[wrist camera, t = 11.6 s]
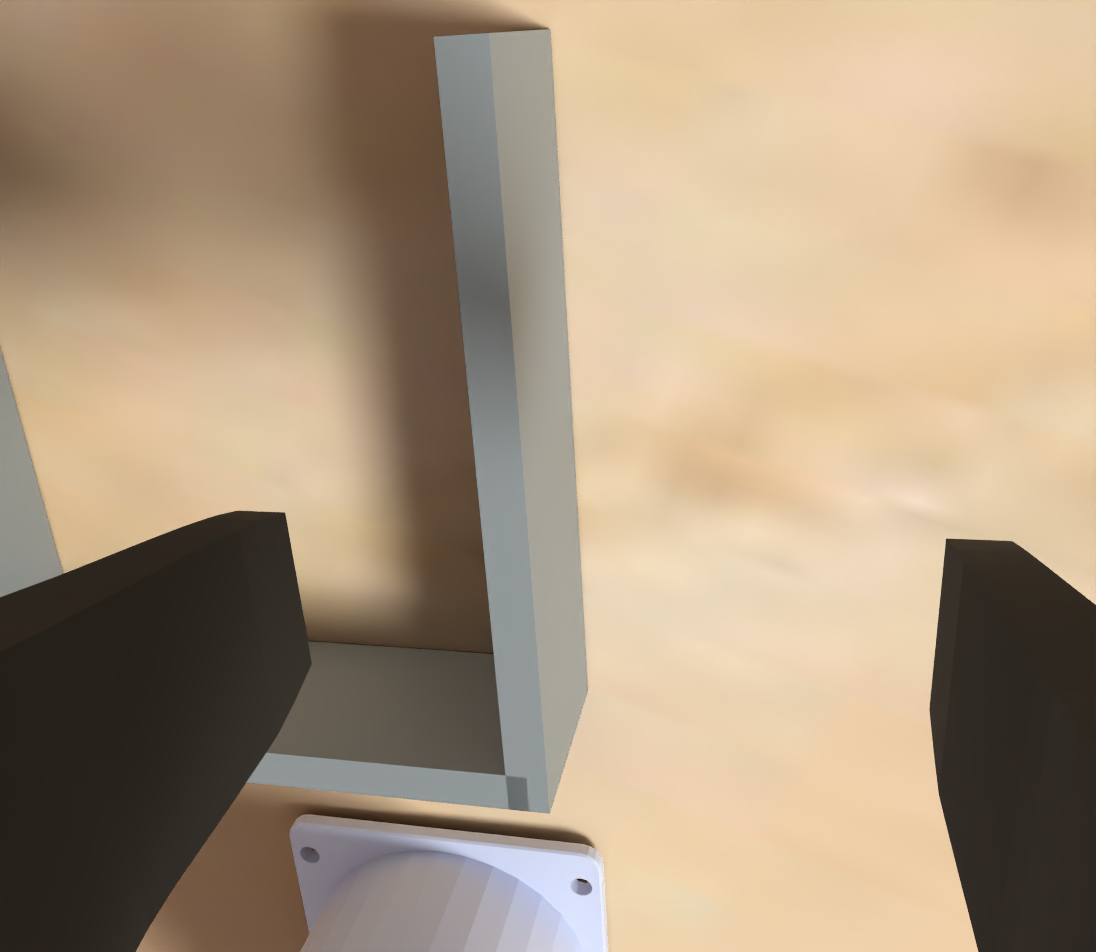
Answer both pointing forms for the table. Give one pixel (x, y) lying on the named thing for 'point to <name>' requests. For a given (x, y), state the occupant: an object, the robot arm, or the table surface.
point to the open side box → (502, 480)
